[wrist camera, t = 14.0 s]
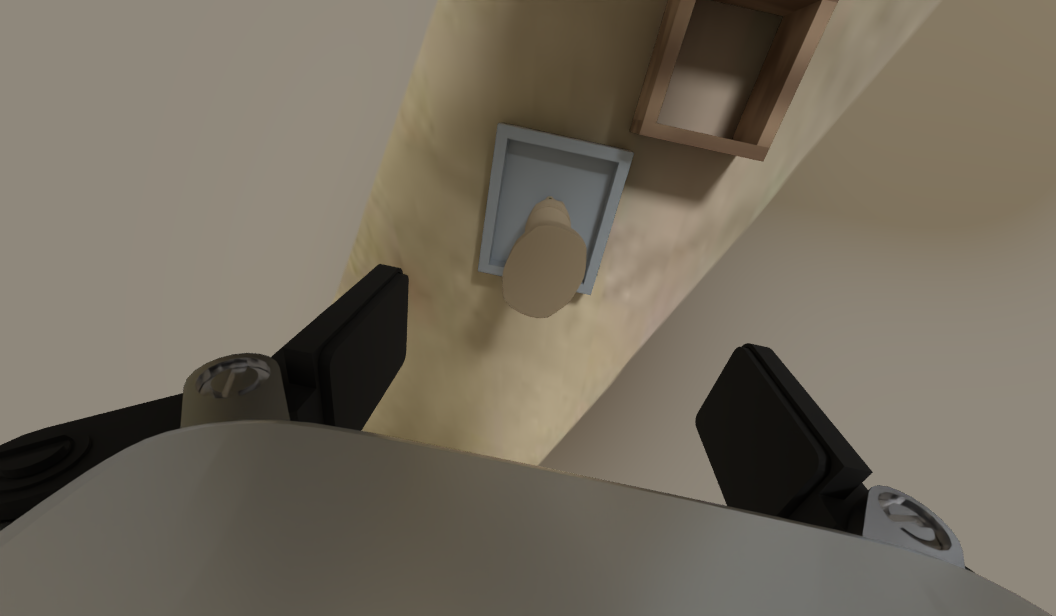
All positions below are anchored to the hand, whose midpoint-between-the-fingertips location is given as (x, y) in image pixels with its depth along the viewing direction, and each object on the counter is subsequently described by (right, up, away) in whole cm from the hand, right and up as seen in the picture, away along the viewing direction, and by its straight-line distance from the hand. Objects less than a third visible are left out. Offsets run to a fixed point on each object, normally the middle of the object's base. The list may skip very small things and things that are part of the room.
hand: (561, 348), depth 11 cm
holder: (+14, +21, +20) cm, 32 cm away
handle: (+1, +11, +26) cm, 28 cm away
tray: (+1, +11, +27) cm, 29 cm away
